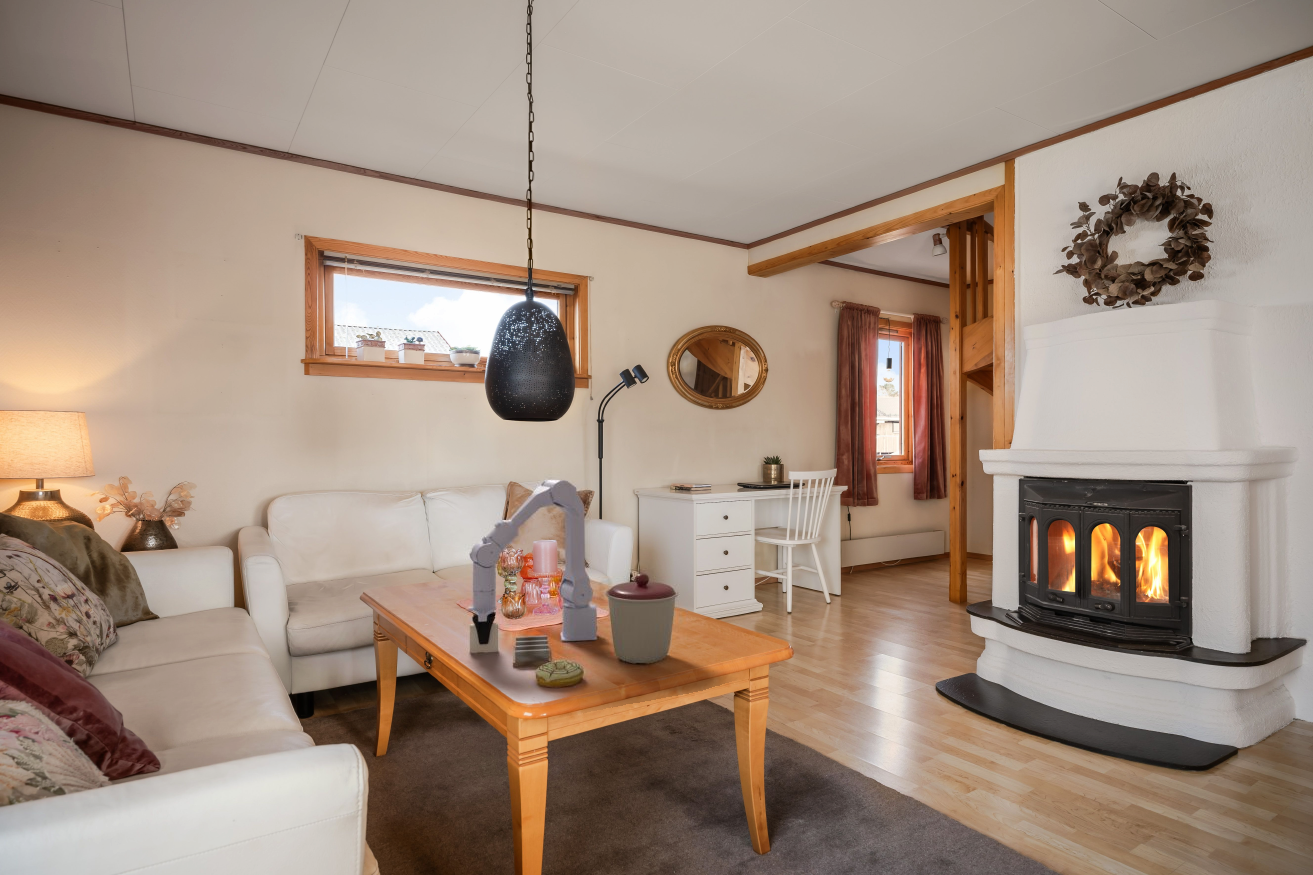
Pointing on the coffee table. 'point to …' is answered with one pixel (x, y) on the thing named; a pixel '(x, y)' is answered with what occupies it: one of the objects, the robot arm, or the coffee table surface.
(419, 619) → the coffee table surface
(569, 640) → the robot arm
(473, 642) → the upright cream panel
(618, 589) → the canister
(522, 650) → the dish rack
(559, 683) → the decorated donut
